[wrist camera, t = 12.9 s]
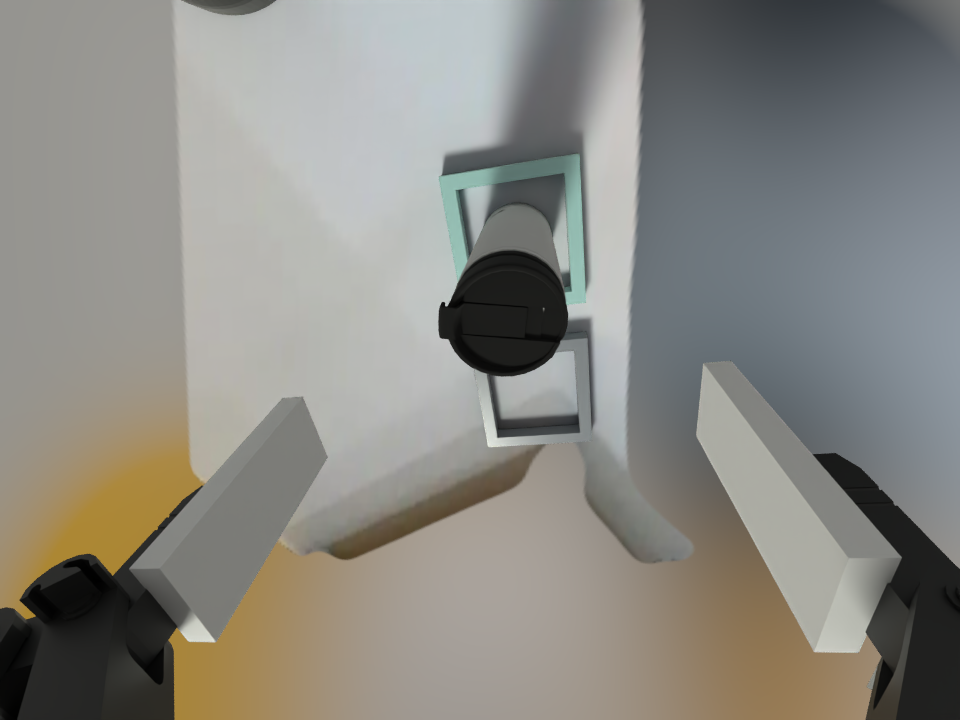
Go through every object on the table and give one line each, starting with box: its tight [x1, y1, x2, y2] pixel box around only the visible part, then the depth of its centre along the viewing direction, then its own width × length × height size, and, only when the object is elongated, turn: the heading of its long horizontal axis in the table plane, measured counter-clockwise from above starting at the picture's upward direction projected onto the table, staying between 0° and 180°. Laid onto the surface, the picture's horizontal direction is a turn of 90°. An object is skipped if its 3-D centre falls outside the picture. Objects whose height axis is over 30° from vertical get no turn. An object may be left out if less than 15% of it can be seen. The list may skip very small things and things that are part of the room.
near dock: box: [439, 153, 586, 305], centre depth 38 cm, size 12×11×2 cm
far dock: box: [474, 332, 592, 447], centre depth 44 cm, size 16×11×2 cm
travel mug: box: [438, 203, 568, 376], centre depth 30 cm, size 6×7×20 cm
